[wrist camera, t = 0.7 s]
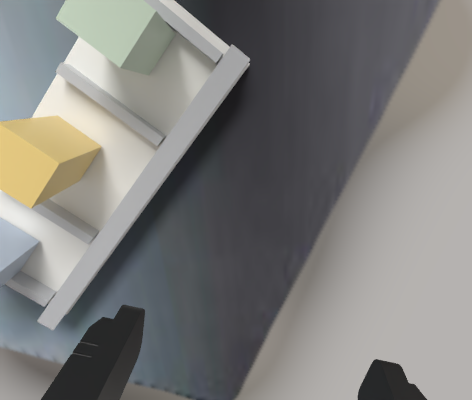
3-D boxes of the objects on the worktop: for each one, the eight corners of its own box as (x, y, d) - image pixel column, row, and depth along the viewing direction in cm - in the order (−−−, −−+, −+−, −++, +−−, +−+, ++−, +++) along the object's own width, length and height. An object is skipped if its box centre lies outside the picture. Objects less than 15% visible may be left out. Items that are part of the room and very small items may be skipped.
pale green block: (103, 40, 31) (55, 18, 22) (129, -4, 30) (90, -44, 21) (148, 75, 32) (120, 67, 23) (175, 34, 31) (156, 10, 22)
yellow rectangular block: (35, 151, 34) (-30, 170, 25) (57, 115, 33) (-3, 122, 24) (79, 181, 35) (31, 208, 26) (102, 146, 34) (59, 163, 25)
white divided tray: (-40, 246, 38) (-69, 262, 34) (128, -37, 30) (113, -57, 26) (70, 309, 41) (54, 331, 37) (249, 65, 33) (252, 60, 29)
